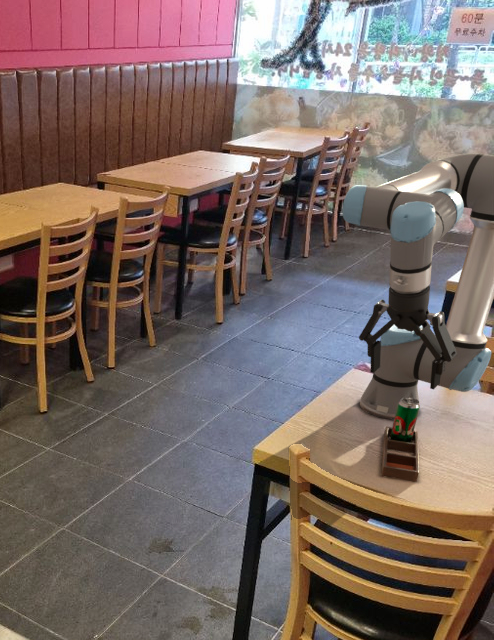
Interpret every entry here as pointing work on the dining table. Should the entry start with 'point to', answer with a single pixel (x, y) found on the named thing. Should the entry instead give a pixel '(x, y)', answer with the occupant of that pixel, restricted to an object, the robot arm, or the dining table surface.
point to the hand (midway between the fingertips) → (404, 377)
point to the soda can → (405, 419)
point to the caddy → (400, 458)
